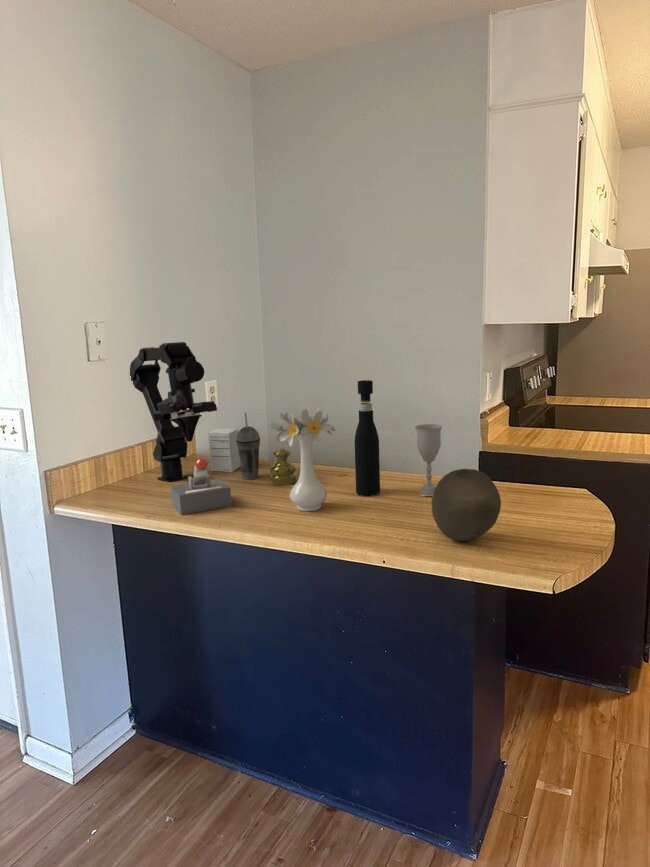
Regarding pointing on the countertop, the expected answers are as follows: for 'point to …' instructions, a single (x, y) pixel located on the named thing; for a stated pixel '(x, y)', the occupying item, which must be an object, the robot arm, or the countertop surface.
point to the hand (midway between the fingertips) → (189, 441)
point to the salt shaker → (283, 469)
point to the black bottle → (366, 445)
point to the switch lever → (200, 472)
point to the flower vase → (304, 455)
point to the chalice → (428, 450)
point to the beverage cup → (248, 451)
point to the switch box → (200, 496)
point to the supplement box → (224, 450)
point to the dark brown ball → (465, 504)
